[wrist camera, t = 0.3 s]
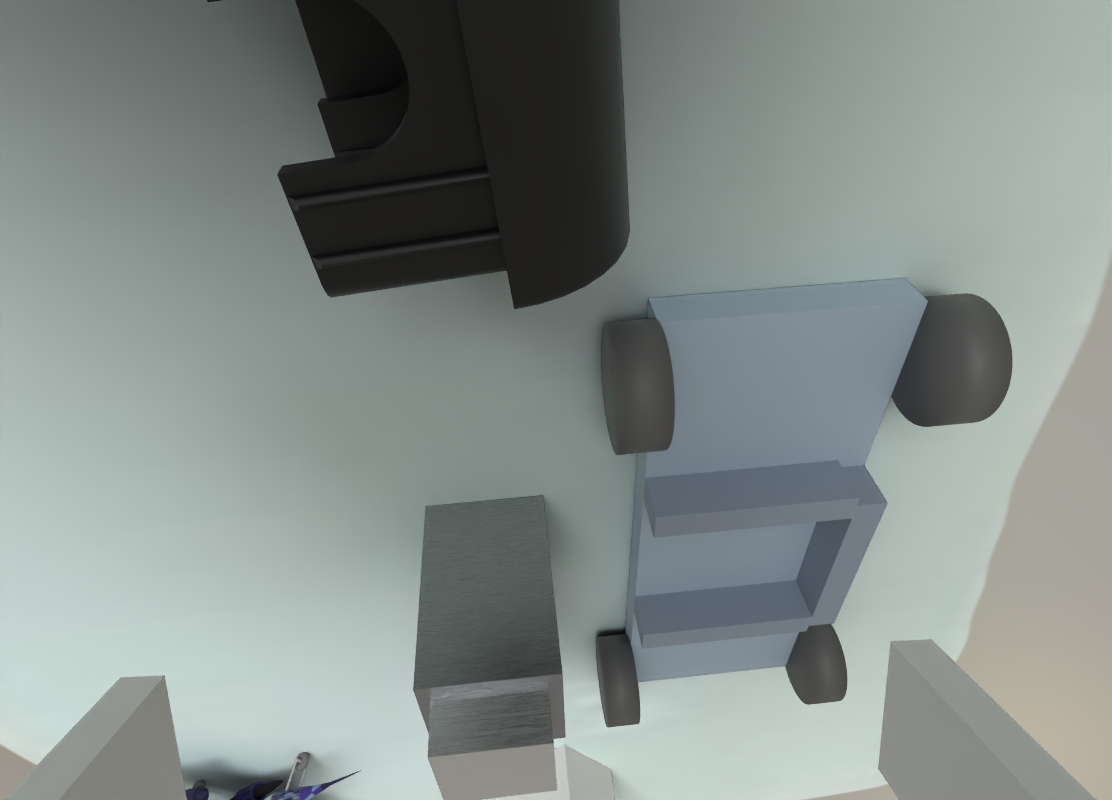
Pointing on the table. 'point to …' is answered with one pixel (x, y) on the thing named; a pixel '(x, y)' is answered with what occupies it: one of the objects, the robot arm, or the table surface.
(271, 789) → the toy airplane
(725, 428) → the chassis
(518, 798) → the light grey cube
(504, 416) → the table surface
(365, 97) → the black arched housing
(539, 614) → the capped grey pillar
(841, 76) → the table surface
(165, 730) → the robot arm
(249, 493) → the table surface
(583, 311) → the table surface
